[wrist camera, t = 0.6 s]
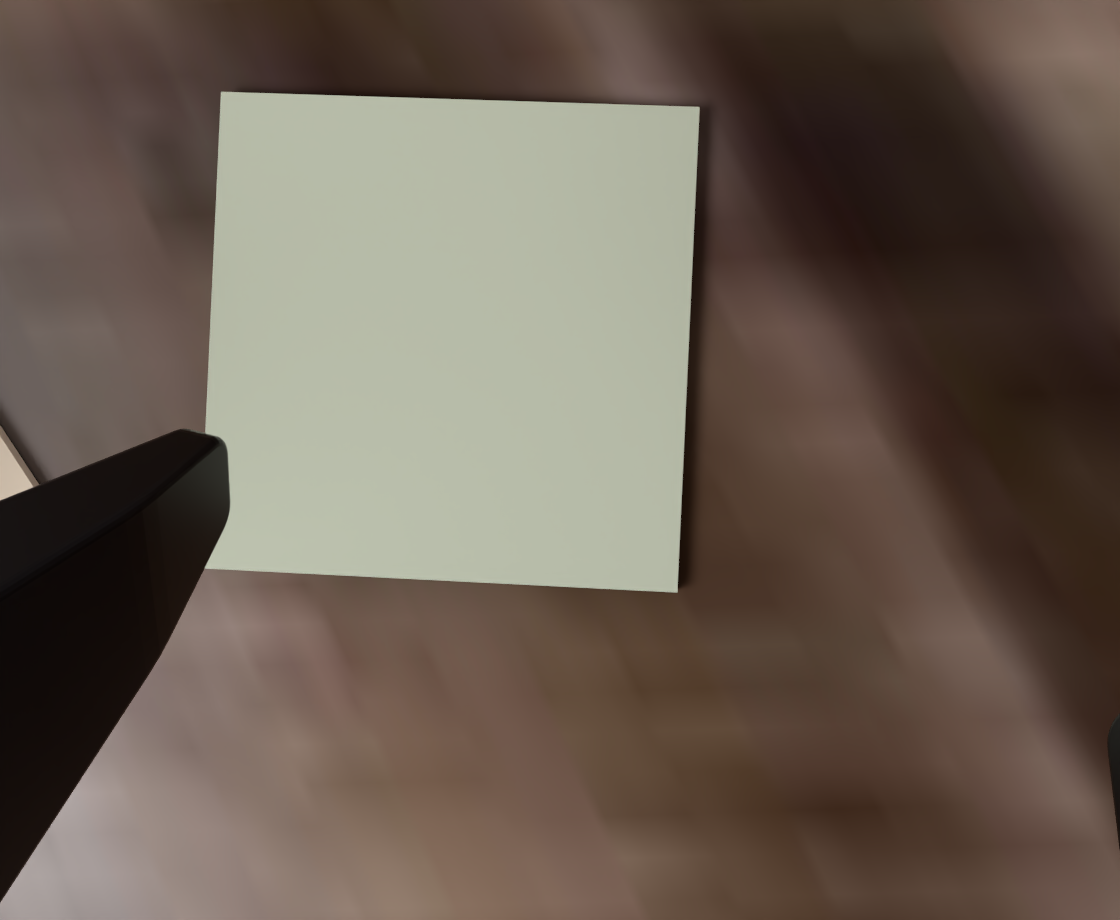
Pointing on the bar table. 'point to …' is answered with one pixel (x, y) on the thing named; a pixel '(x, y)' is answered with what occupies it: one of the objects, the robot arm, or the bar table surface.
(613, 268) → the rubber pad
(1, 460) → the carton
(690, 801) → the bar table surface
